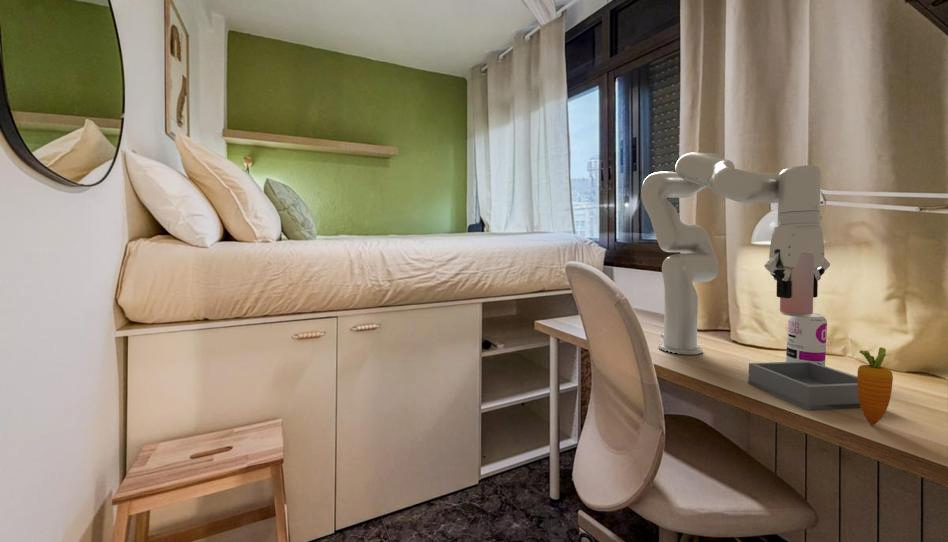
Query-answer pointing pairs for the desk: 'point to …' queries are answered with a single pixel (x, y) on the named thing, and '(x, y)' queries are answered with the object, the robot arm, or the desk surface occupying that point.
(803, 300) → the beverage can
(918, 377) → the desk surface
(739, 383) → the desk surface
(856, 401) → the tray
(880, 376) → the carrot
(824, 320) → the supplement can
